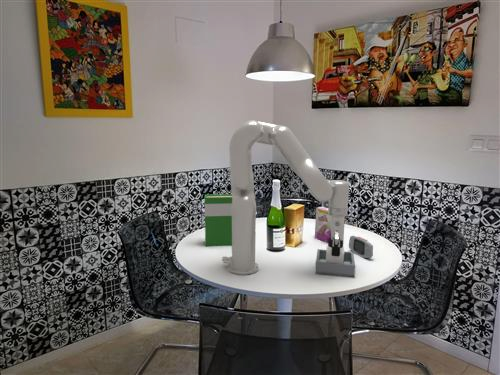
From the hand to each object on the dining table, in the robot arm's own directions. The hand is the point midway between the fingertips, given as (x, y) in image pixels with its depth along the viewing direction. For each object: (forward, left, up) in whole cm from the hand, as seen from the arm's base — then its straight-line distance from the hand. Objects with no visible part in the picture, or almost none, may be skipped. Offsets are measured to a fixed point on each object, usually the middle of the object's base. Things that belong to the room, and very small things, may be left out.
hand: (335, 251), depth 151 cm
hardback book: (-53, +19, -7) cm, 57 cm away
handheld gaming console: (+12, +19, -8) cm, 23 cm away
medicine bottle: (0, 0, -6) cm, 6 cm away
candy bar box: (-4, +36, -7) cm, 37 cm away
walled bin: (0, 0, -7) cm, 7 cm away
